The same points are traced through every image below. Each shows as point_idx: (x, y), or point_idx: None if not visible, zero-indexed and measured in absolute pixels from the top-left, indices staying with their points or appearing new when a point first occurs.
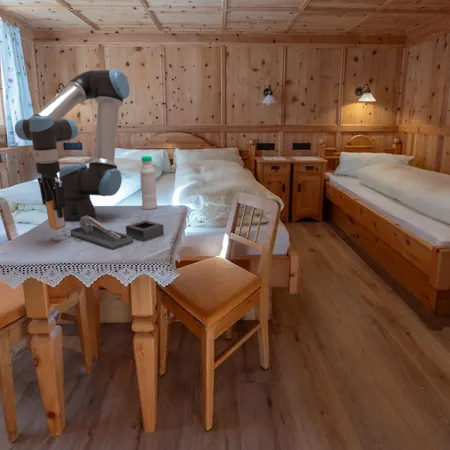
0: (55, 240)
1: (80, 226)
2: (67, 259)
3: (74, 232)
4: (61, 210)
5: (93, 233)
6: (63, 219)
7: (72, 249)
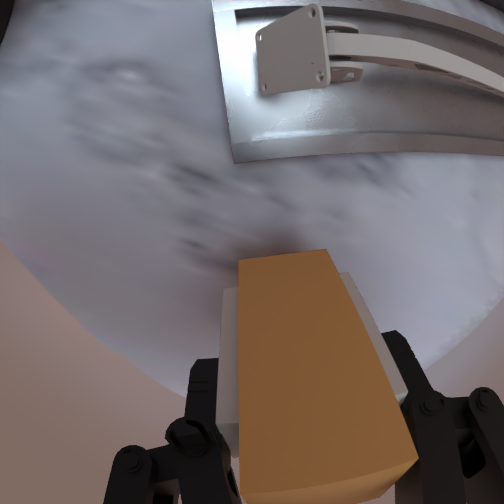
0: None
1: (264, 89)
2: (482, 303)
3: (290, 155)
4: (425, 387)
5: None
6: (365, 304)
7: (440, 255)
